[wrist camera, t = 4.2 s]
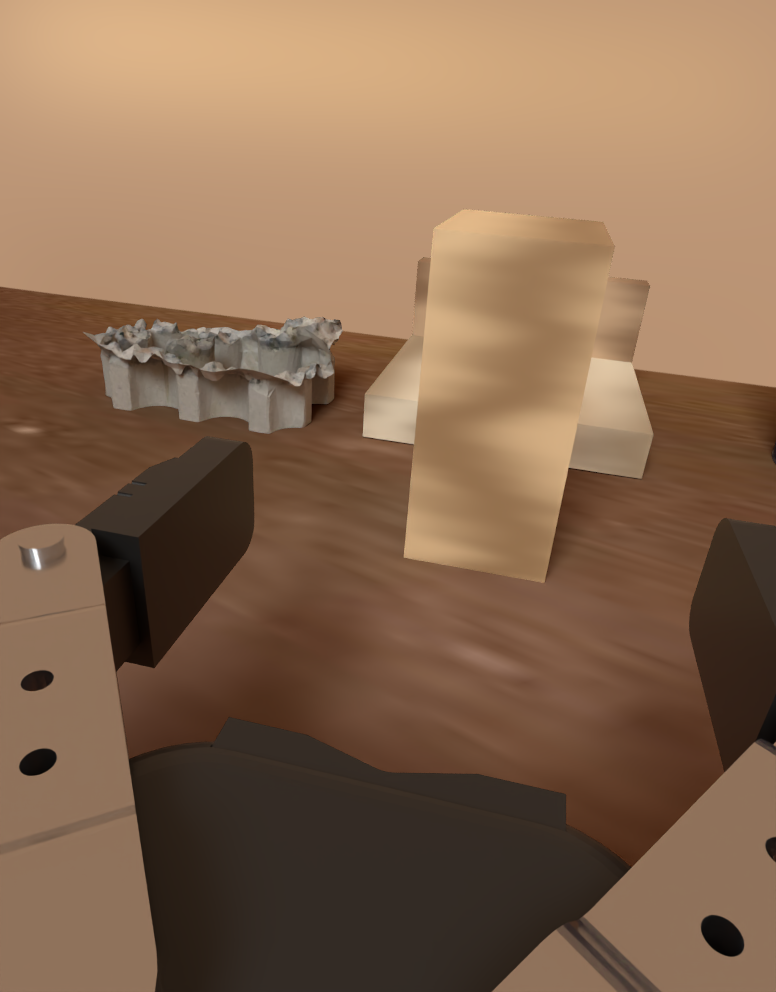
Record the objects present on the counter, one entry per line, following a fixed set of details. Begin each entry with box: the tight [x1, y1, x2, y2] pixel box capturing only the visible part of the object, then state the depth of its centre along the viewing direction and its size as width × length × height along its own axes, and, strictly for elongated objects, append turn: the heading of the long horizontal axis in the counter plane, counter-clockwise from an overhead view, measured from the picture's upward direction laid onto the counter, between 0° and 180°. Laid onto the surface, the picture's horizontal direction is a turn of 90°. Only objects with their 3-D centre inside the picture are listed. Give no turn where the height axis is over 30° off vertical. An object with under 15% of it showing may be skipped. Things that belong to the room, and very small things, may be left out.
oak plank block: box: [404, 209, 614, 583], centre depth 22 cm, size 4×6×10 cm
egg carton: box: [83, 317, 343, 434], centre depth 33 cm, size 11×8×4 cm
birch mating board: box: [363, 257, 653, 479], centre depth 34 cm, size 12×12×6 cm
